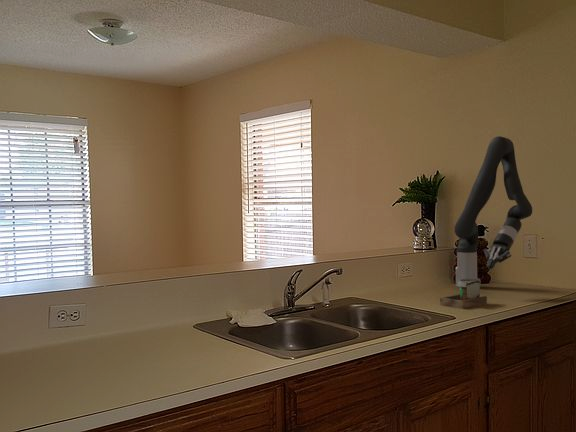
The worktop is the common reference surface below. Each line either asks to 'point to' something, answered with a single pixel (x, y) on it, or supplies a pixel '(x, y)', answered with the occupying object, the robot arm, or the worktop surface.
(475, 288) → the food container
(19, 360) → the worktop surface
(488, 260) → the robot arm
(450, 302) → the bay
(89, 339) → the worktop surface
